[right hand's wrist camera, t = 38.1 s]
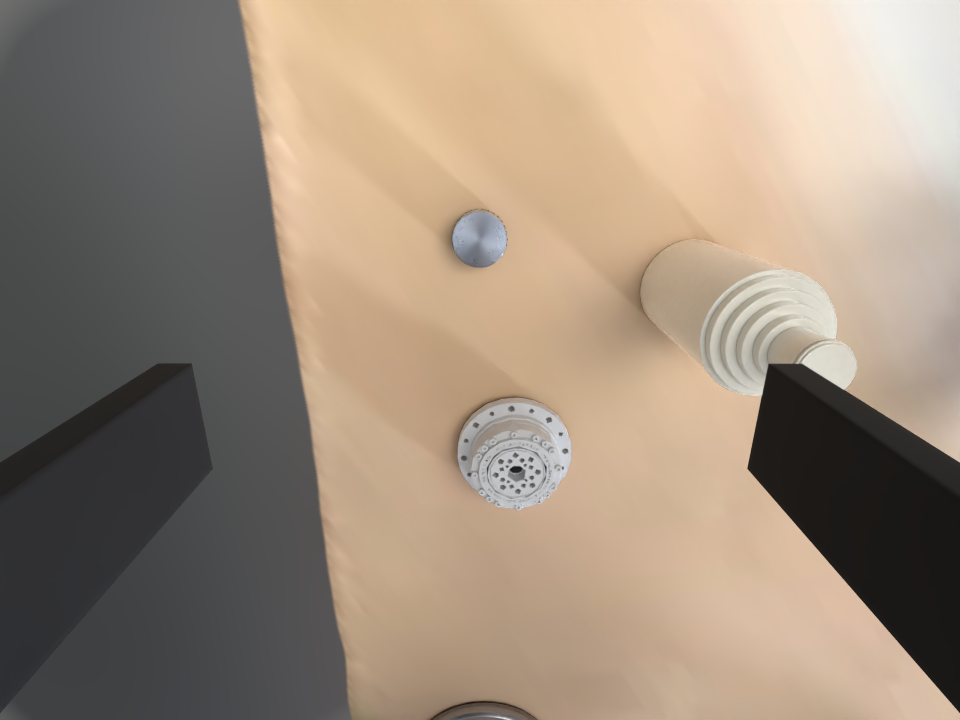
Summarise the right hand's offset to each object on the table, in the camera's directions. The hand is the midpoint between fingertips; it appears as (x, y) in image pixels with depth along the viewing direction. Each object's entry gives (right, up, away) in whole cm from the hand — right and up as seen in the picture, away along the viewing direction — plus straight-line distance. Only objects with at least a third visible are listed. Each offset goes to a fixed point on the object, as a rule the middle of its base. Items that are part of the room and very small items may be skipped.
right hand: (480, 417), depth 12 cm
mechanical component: (+3, -6, +36) cm, 36 cm away
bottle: (+17, +7, +31) cm, 36 cm away
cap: (0, +10, +28) cm, 30 cm away
